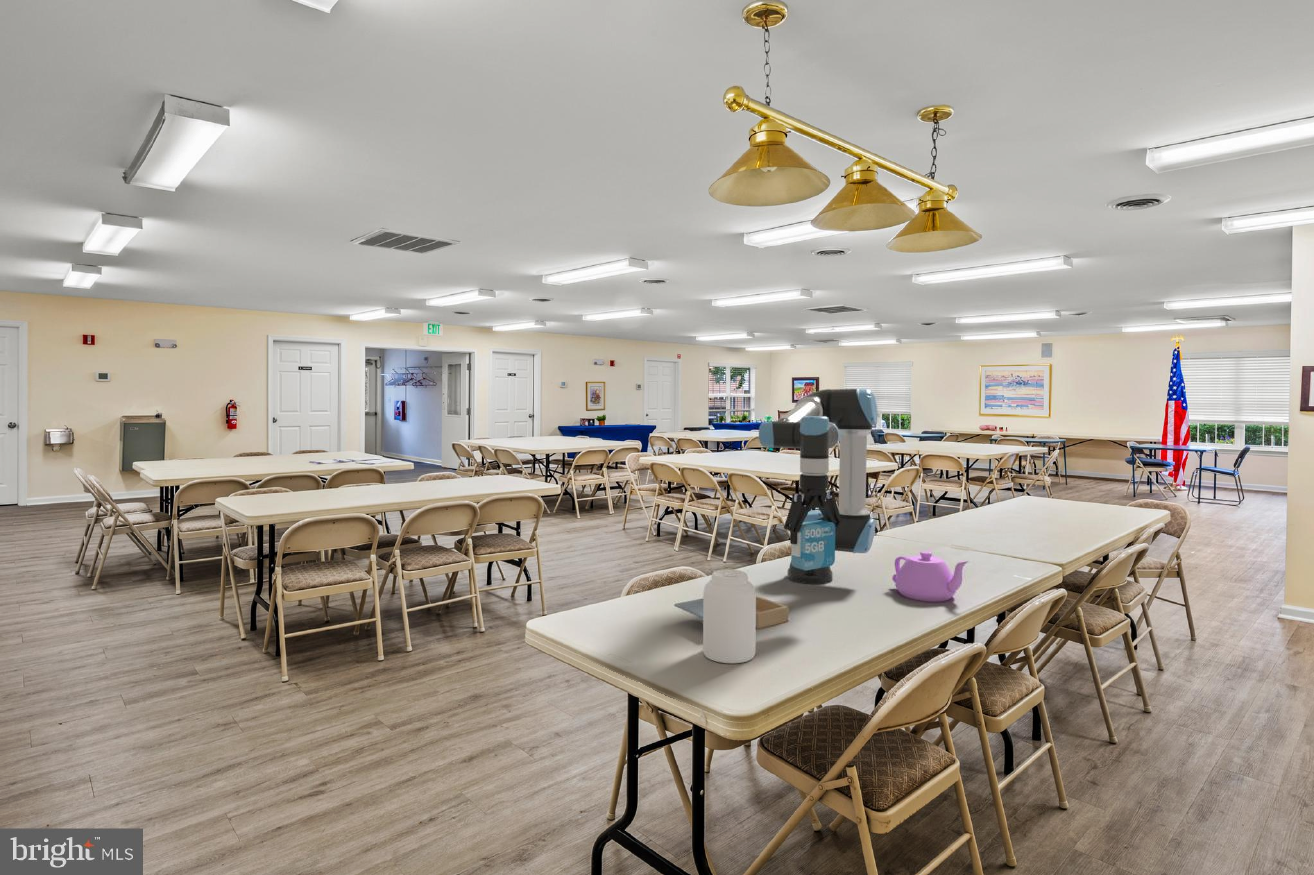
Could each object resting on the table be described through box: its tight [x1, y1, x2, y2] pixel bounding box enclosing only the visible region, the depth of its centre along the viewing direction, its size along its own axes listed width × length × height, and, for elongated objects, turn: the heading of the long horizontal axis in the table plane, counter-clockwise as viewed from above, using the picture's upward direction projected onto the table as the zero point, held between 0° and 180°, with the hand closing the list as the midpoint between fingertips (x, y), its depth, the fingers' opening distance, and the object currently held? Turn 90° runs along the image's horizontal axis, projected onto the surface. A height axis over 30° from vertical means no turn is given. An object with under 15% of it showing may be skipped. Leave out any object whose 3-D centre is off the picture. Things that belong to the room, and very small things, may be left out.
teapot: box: [892, 550, 969, 603], centre depth 212 cm, size 25×18×14 cm
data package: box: [790, 520, 836, 570], centre depth 184 cm, size 12×4×12 cm, turn 121°
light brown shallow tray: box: [756, 595, 790, 629], centre depth 192 cm, size 11×17×4 cm, turn 33°
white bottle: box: [702, 568, 757, 664], centre depth 162 cm, size 12×12×20 cm
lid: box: [673, 598, 703, 620], centre depth 183 cm, size 11×17×4 cm, turn 33°
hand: (813, 552), depth 184 cm, fingers closed on data package, 12 cm apart
